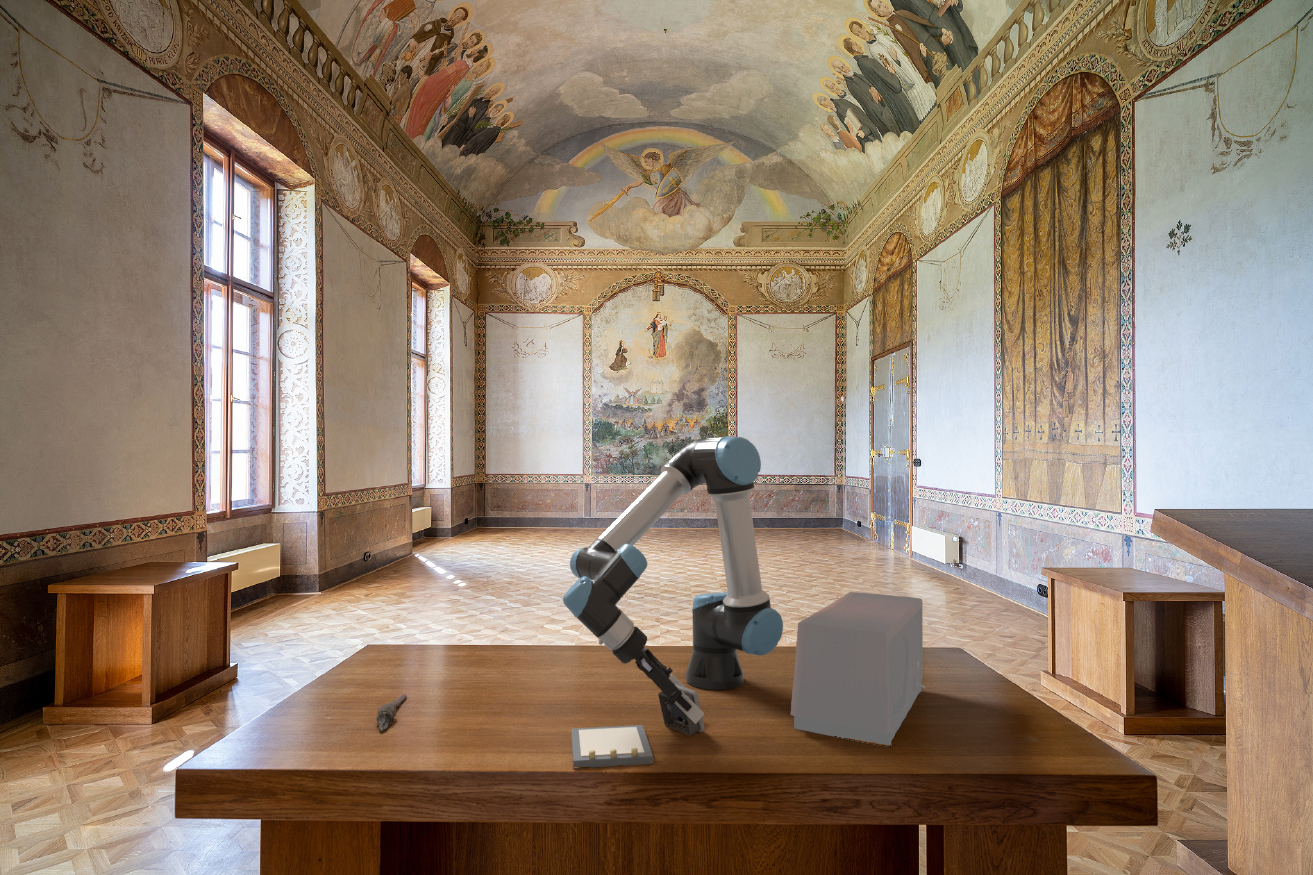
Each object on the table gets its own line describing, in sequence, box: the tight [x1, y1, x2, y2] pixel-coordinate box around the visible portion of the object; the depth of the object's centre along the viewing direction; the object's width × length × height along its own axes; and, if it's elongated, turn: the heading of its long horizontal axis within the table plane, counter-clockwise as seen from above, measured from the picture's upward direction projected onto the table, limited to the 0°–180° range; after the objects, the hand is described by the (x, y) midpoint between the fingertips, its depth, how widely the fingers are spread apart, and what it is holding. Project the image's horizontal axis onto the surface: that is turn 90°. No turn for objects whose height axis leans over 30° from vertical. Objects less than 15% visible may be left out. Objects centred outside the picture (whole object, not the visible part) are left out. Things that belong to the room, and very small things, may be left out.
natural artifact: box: [375, 693, 408, 732], centre depth 151 cm, size 4×23×4 cm, turn 2°
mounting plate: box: [570, 724, 654, 769], centre depth 133 cm, size 15×16×3 cm
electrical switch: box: [657, 685, 706, 736], centre depth 143 cm, size 9×5×9 cm, turn 44°
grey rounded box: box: [790, 591, 927, 746], centre depth 156 cm, size 45×22×24 cm, turn 148°
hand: (693, 708), depth 143 cm, fingers open, 12 cm apart
